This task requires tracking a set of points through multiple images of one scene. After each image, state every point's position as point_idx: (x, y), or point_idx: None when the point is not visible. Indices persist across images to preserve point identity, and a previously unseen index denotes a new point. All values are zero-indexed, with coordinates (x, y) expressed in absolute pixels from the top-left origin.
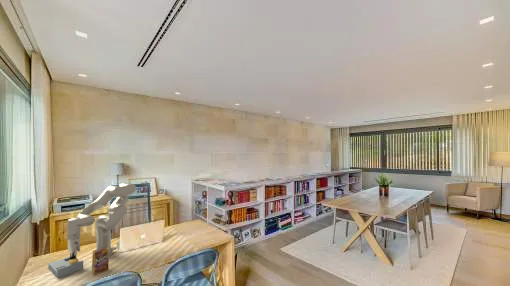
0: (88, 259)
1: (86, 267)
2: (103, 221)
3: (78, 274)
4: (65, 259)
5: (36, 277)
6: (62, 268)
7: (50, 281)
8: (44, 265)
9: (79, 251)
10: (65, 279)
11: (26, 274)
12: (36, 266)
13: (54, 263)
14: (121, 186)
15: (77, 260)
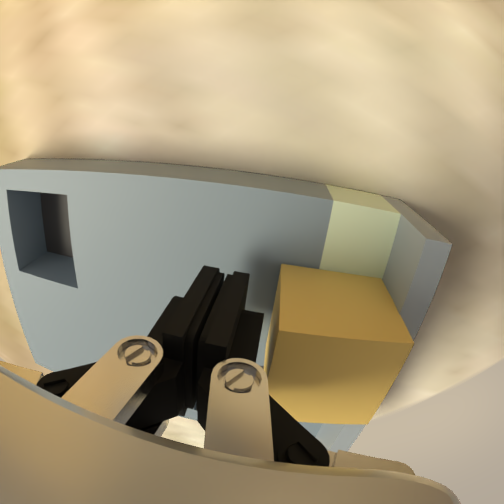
0: (161, 21)
1: (408, 157)
2: None
3: (465, 296)
4: (20, 251)
5: (166, 430)
6: (344, 447)
7: None
8: (12, 325)
9: (445, 490)
10: (421, 383)
11: None
12: (7, 346)
13: (59, 352)
14: None
15: (404, 348)
